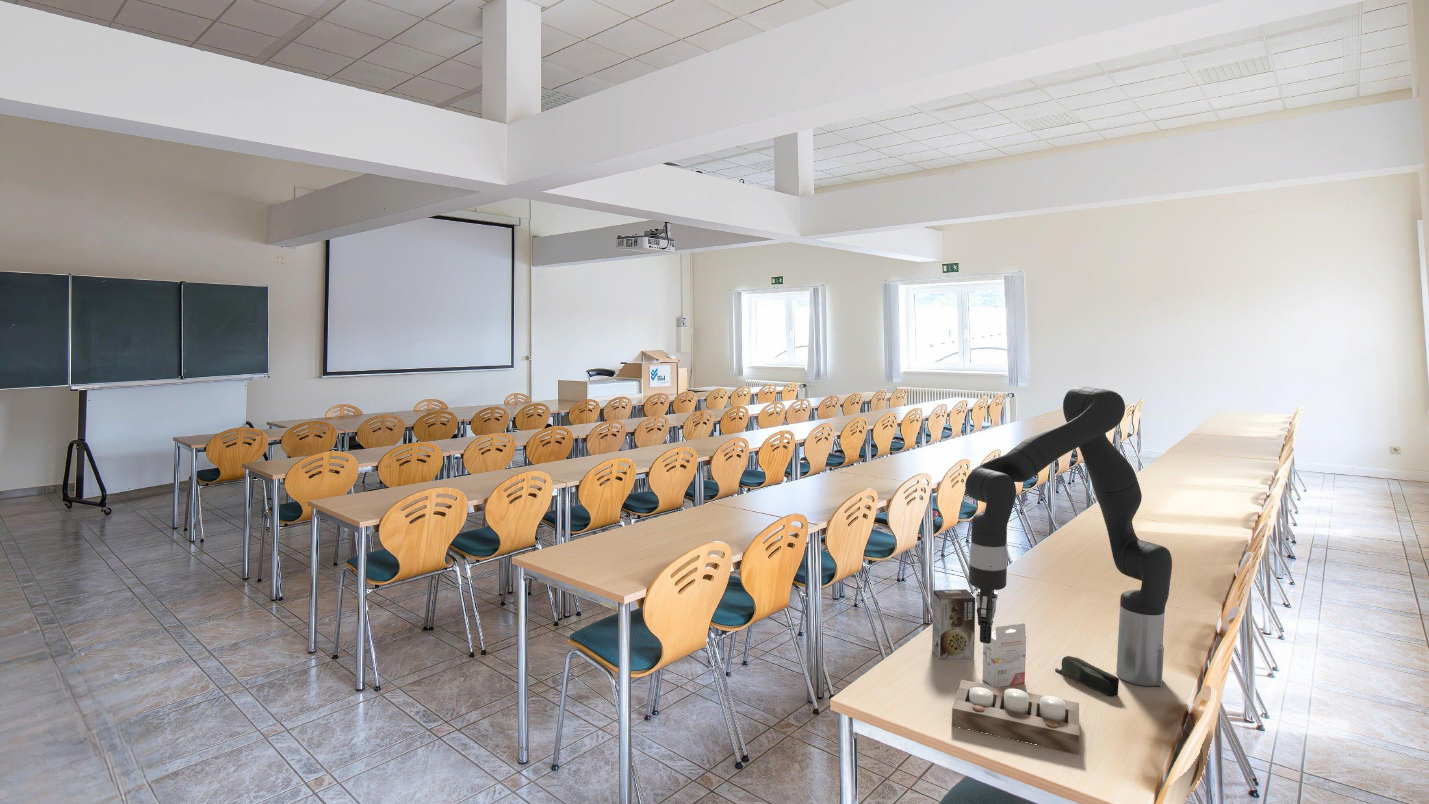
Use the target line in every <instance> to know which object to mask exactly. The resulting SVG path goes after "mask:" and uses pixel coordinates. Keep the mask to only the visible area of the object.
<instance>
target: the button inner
mask: <svg viewBox="0 0 1429 804" xmlns="http://www.w3.org/2000/svg"><path fill="white" fill-rule="evenodd" d="M1042 696H1043V697H1041V698H1040V717H1041V718H1046V719H1050V720H1055V721H1060V722H1065V709H1066V703H1065V701H1063V700H1064V699H1061V698H1060V697H1057V696H1053V695H1042Z"/></svg>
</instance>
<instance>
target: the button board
mask: <svg viewBox="0 0 1429 804" xmlns="http://www.w3.org/2000/svg"><path fill="white" fill-rule="evenodd" d="M974 687H981V688H986V689H988V690H990V691H991V692H992V693H993V707H989V706H984V705H979V704H974V703H969V693H970V689H971V688H974ZM1007 689H1008V688H1005V687H996V686H992V685H990V684H985V683H981V682H975V681H971V680H966V679H961V680H960V683H959V686H958V688H957V692H956V695H955V697H954V698H955V699H954V701H953V704H952V708H951V709H952V710H951V727H953V726H954V727H955V728H958V727H960V728H959V729H962V728H964V729H963V730H967V729H970V730H969V731H971V730H973V731H972V732H975V731H978V732H977V733H980V732H983V733H982V734H984V733H988V734H987V735H989V734H992V735H991V736H993V735H995V736H994V737H998V736H1000V737H999V738H1002V737H1003V739H1006V738H1009V739H1008V740H1011V739H1014V740H1013V741H1015V740H1019V741H1018V742H1020V741H1023V742H1022V743H1024V742H1028V743H1027V744H1029V743H1032V744H1031V745H1033V744H1037V745H1036V746H1038V745H1039V746H1038V747H1042V746H1043V747H1042V748H1046V749H1047V748H1048V749H1051V750H1056V751H1059V752H1065V753H1069V754H1074V755H1078V756H1079V754H1080V753H1079V751H1080V749H1079V748H1080V702H1076V701H1071V700H1066V699H1062V700H1063V701H1065V703H1066V709H1065V722H1060V721H1055V720H1050V719H1046V718H1041V717H1040V698H1041V697H1043V696H1044V695H1041V694H1036V693H1031V692H1026V691H1025V692H1026V693H1027V694H1028V695H1029V705H1028V715H1027V714H1022V713H1017V712H1012V711H1008V710H1004V691H1005V690H1007Z"/></svg>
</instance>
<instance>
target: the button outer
mask: <svg viewBox="0 0 1429 804" xmlns="http://www.w3.org/2000/svg"><path fill="white" fill-rule="evenodd" d="M969 703H974V704H979V705H984V706H989V707H993V693H992V692H991V691H990V690H988V689H986V688H981V687H974V688H971V689H970V693H969Z"/></svg>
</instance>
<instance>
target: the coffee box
mask: <svg viewBox="0 0 1429 804" xmlns="http://www.w3.org/2000/svg"><path fill="white" fill-rule="evenodd" d="M975 625H976V596H974V595H973V594H972V593H971V592H970V591H969V590H968V589H964V588H963V589H934V590H933V592H932V631H931V632H932V635H931V637H932V640H931V642H932V643H931V648H932V649H931V650H932V651H933V652H934V654H935V655H936V657H937V658H938V659H939V660H962V659H963V660H964V659H965V660H967V659H972V660H973V659H975V643H976V642H975V641H976V640H975V637H976V636H975V635H976V634H975V632H976V630H975V629H976V626H975Z"/></svg>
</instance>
